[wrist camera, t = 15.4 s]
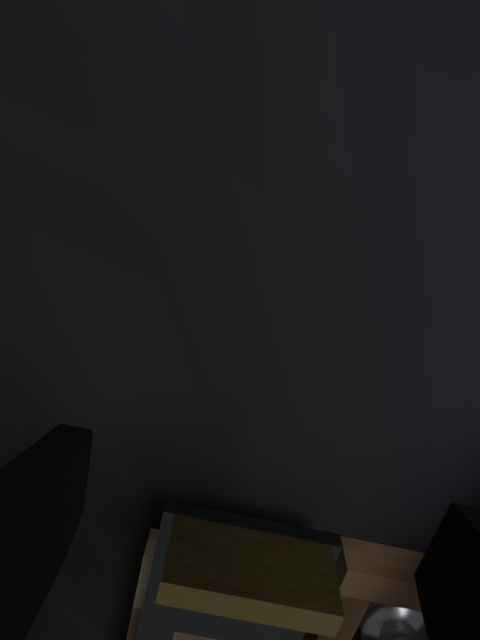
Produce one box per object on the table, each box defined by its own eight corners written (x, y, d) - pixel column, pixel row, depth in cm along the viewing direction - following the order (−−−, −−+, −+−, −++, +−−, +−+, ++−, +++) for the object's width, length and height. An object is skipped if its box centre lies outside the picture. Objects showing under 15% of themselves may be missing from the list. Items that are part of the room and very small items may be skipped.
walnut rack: (488, 565, 23) (508, 602, 22) (429, 660, 26) (442, 700, 25) (340, 535, 23) (347, 570, 21) (297, 636, 26) (300, 674, 24)
